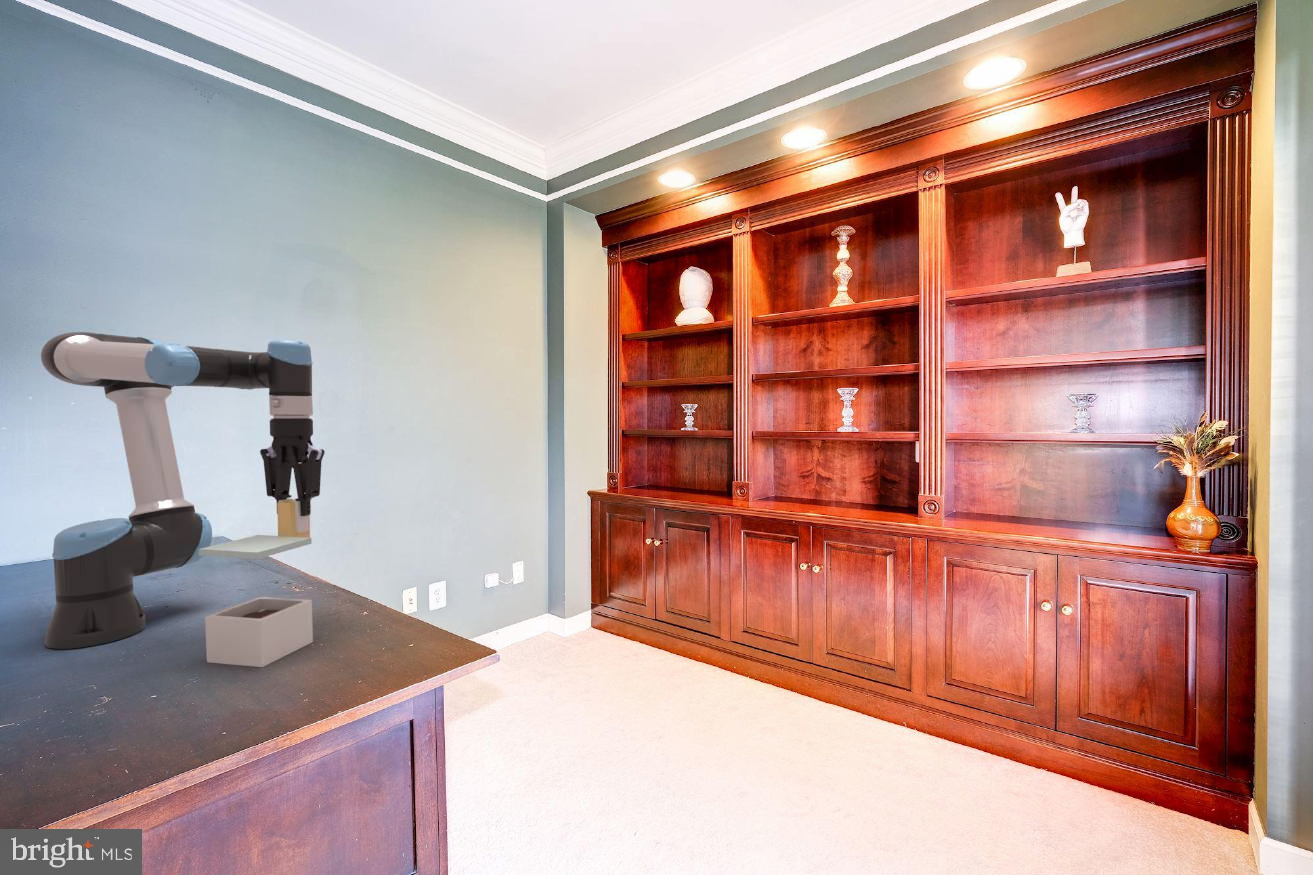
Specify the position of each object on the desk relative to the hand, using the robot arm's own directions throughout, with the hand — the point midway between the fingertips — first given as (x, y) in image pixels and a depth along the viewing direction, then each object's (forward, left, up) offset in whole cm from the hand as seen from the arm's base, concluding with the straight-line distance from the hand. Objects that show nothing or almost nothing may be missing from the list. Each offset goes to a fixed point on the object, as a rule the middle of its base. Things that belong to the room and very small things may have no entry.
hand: (294, 530), depth 121 cm
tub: (0, -9, -22) cm, 23 cm away
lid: (0, -6, -2) cm, 7 cm away
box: (0, -9, -22) cm, 24 cm away
